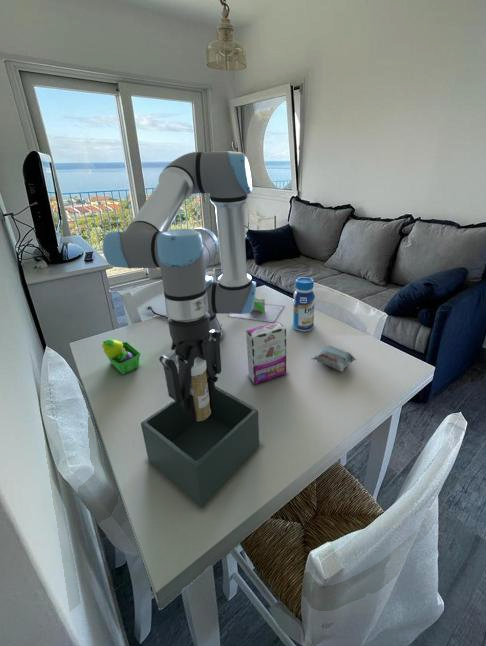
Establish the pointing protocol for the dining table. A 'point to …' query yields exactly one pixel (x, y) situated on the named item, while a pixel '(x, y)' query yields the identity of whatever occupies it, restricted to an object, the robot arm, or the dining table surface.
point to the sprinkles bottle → (200, 389)
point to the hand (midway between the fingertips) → (200, 411)
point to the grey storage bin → (202, 444)
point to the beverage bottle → (303, 305)
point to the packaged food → (334, 357)
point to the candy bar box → (266, 352)
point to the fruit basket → (121, 355)
